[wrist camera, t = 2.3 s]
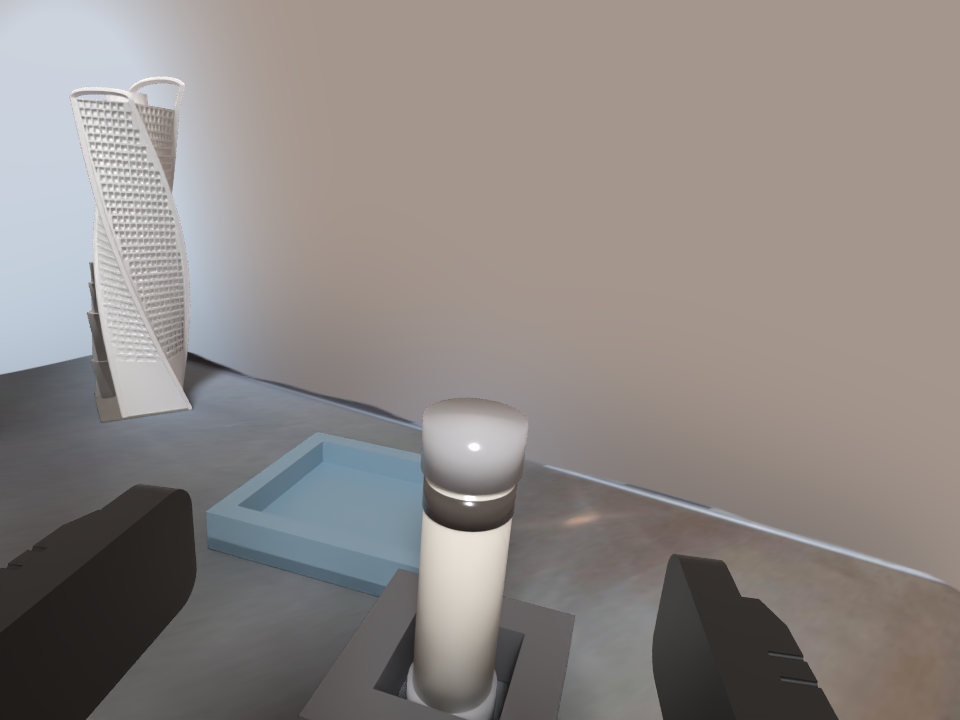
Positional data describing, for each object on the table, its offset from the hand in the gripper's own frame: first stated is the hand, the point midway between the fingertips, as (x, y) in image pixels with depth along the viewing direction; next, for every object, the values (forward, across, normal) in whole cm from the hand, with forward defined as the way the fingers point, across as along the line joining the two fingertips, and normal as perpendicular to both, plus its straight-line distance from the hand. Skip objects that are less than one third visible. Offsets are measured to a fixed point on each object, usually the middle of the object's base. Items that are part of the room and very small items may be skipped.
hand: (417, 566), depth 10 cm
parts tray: (+24, +8, +16) cm, 30 cm away
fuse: (+12, 0, +16) cm, 20 cm away
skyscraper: (+38, +32, +16) cm, 53 cm away
